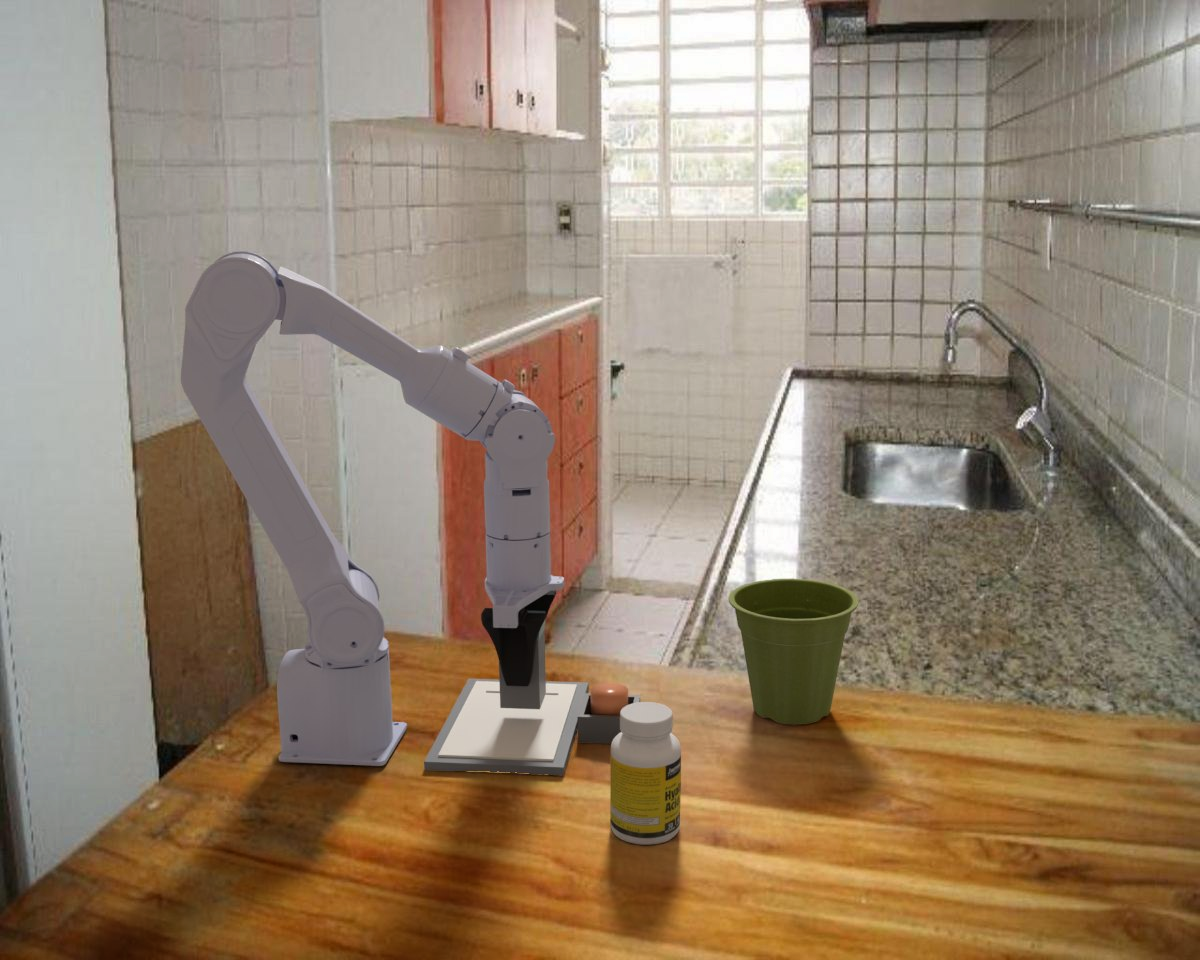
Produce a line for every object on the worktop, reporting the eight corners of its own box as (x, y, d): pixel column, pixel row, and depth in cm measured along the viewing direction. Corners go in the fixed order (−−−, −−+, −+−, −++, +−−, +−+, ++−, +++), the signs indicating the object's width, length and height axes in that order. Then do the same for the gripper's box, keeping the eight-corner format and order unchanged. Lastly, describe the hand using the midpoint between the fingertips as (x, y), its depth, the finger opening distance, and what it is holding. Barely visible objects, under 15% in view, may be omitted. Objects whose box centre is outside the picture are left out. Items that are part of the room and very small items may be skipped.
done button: (588, 717, 110) (588, 697, 110) (593, 702, 113) (592, 682, 113) (626, 719, 110) (626, 698, 109) (629, 703, 113) (629, 683, 113)
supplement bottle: (675, 850, 92) (676, 730, 90) (604, 843, 93) (603, 724, 91) (685, 815, 97) (685, 699, 95) (617, 808, 98) (616, 694, 96)
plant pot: (805, 677, 124) (809, 570, 121) (880, 722, 113) (885, 606, 111) (703, 699, 119) (705, 588, 116) (771, 748, 108) (774, 627, 106)
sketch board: (424, 770, 105) (423, 759, 105) (468, 686, 122) (468, 676, 122) (563, 776, 104) (563, 764, 103) (588, 690, 121) (588, 680, 121)
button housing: (577, 742, 110) (577, 716, 109) (584, 717, 115) (584, 693, 114) (635, 744, 109) (635, 718, 109) (640, 719, 114) (640, 694, 114)
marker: (499, 708, 111) (496, 624, 109) (506, 691, 114) (504, 609, 112) (540, 709, 110) (538, 625, 108) (547, 692, 114) (545, 611, 112)
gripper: (550, 557, 101) (553, 710, 104) (573, 510, 115) (575, 647, 118) (466, 555, 102) (472, 707, 105) (499, 509, 116) (503, 645, 119)
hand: (521, 675), depth 112 cm, fingers closed on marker, 4 cm apart
